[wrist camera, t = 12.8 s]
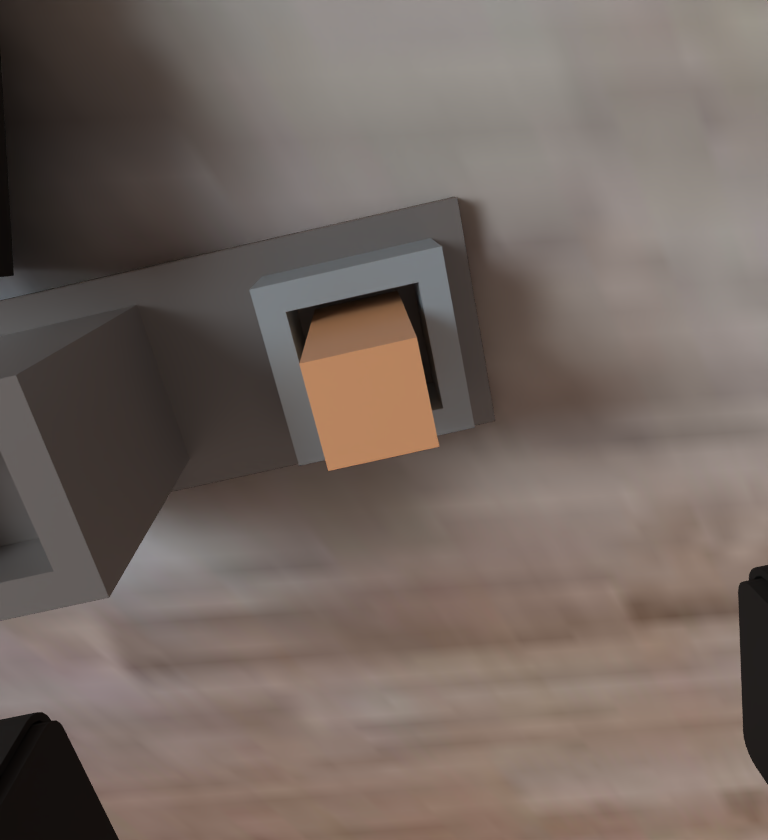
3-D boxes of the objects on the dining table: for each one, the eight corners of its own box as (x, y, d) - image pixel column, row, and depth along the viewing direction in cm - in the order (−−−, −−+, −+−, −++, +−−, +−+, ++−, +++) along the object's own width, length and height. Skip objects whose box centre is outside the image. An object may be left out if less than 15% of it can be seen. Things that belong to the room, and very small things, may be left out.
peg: (397, 290, 32) (416, 337, 22) (414, 370, 33) (439, 446, 24) (314, 309, 32) (299, 363, 23) (334, 388, 33) (328, 471, 24)
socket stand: (454, 196, 31) (518, 207, 19) (491, 414, 35) (565, 539, 23) (-61, 314, 32) (-314, 396, 20) (29, 515, 36) (-139, 689, 24)
